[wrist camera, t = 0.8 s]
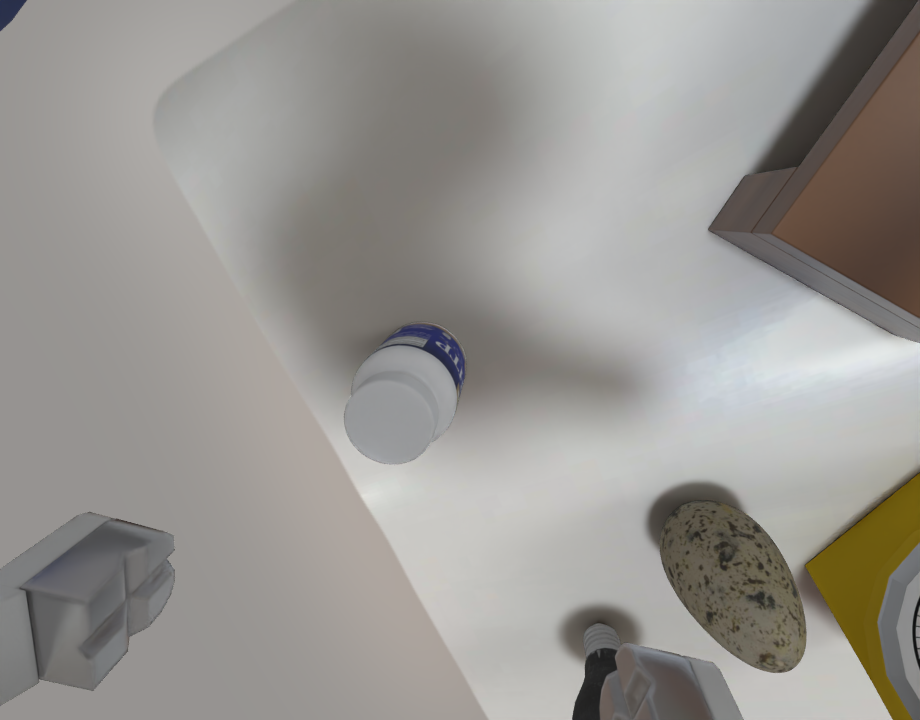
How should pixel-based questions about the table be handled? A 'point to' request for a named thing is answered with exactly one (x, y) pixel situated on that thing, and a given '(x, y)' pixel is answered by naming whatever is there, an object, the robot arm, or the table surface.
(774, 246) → the shelf
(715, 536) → the decorative egg
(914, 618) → the alarm clock
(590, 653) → the light bulb
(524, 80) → the table surface
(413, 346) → the pill bottle
